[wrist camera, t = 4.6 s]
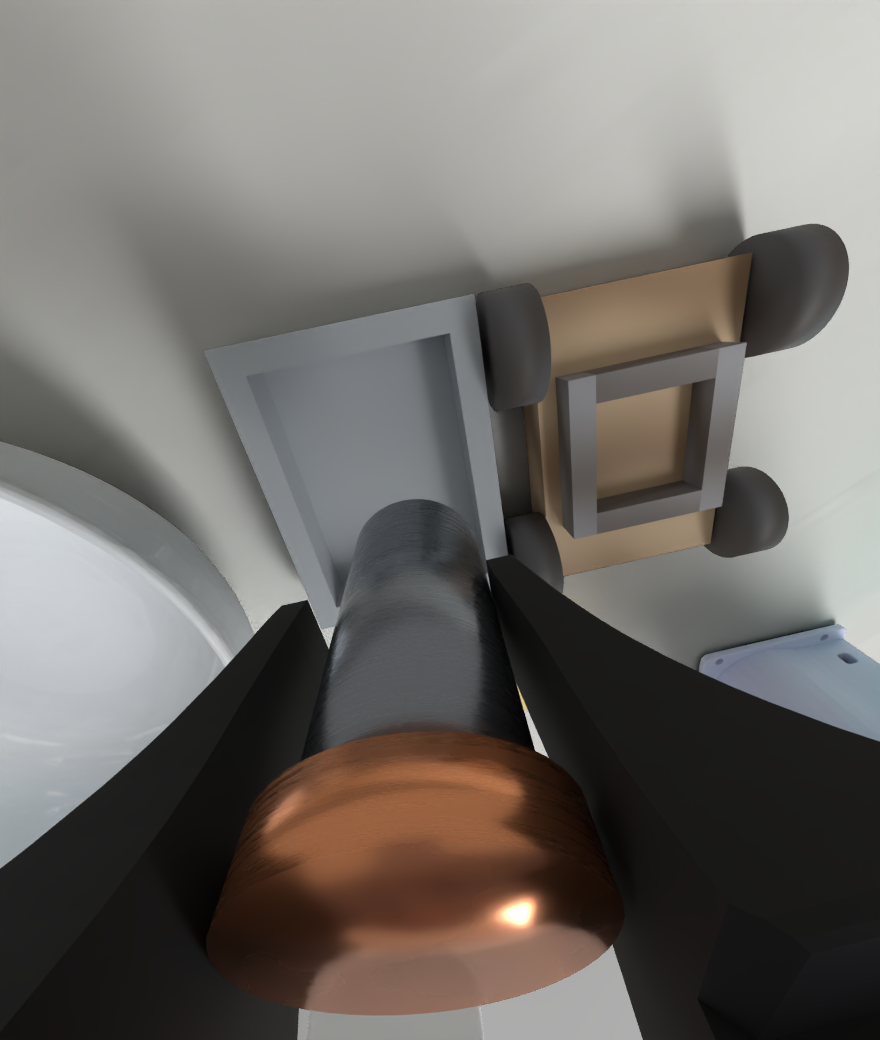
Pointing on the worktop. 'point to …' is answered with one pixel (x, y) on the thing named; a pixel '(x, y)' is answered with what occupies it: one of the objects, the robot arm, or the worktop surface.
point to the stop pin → (415, 809)
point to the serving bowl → (93, 636)
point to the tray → (365, 431)
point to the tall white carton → (397, 1026)
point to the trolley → (651, 400)
